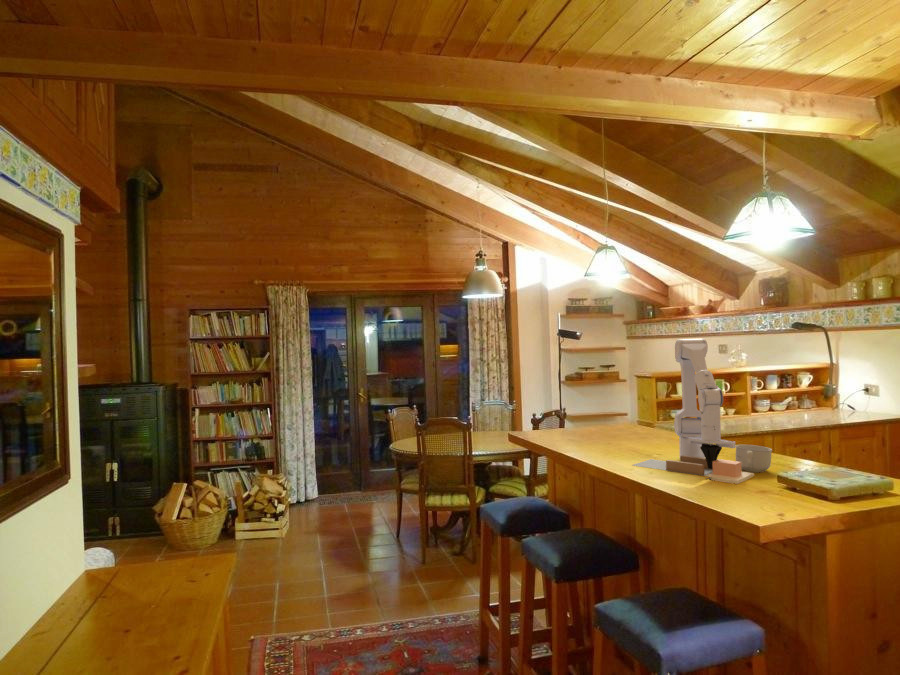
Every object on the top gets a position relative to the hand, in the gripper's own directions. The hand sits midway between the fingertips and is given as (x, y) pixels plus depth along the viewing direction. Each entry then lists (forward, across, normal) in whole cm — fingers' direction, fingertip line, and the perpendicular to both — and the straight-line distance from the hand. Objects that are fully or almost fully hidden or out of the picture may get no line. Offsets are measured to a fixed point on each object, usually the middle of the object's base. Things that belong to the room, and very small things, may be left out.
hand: (711, 468), depth 198 cm
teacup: (+2, +8, +14) cm, 16 cm away
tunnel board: (+2, -6, 0) cm, 7 cm away
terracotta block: (+1, +5, 0) cm, 5 cm away
